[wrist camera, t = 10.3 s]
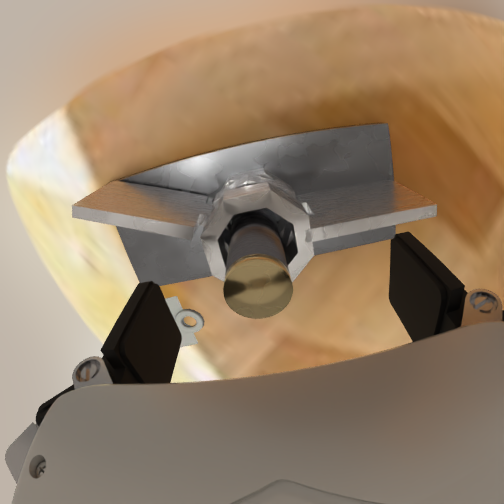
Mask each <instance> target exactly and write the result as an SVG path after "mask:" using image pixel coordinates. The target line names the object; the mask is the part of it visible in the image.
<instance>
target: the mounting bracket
mask: <svg viewBox="0 0 504 504" xmlns="http://www.w3.org/2000/svg"><path fill="white" fill-rule="evenodd" d="M165 300H166V302H167V304H168V307H169V309H170V311H171V313H172V315H173V317H174V320H175V322H176V324H177V326H178V328H179V330H180V332H181V335H182V342H181V345H180V347H183V346H188V345H193V344H198V342H197V340H196V338H195V335H194V333H193V332H197V331H199V330H200V329H201V328H202V327H203V326H204V319H203V317H202V316H201V314H200V313H198V312H196V311H195V310H191V309H182V307H181V305H180V302H179V300H178V298H177V296H175V297H171V298H167V299H165ZM186 316H190V317H193V318H195V320H196V322H197V324H196V325H194V326H190V325H187V324H186V323H185V322H184V320H183V319H184V318H185V317H186Z"/></svg>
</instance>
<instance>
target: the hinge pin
mask: <svg viewBox="0 0 504 504" xmlns="http://www.w3.org/2000/svg"><path fill="white" fill-rule="evenodd" d="M223 292H224V298H225V300H226V302H227V304H228V305H229V307H230V308H231V309H232V310H233V311H235V312H236V313H238V314H239V315H242V316H244V317H248V318H254V319H261V318H267V317H270V316H273V315H275V314H277V313H279V312H280V311H282V310H283V309H284V308H285V307H286V306H287V305H288V303H289V301H290V300H291V297H292V293H293V286H292V281H291V277H290V273H289V269H288V265H287V261H286V257H285V253H284V249H283V245H282V242H281V238H280V234H279V230H278V226H277V222H276V219H275V215H274V212H273V211H271V210H270V209H268V208H262V209H257V210H252V211H247V212H243V213H238V214H234V215H233V221H232V228H231V236H230V243H229V250H228V258H227V265H226V273H225V280H224V289H223Z"/></svg>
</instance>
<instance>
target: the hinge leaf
mask: <svg viewBox="0 0 504 504" xmlns="http://www.w3.org/2000/svg"><path fill="white" fill-rule="evenodd" d="M263 182H269V183H270V184H272V185H274V186H275V187H277V188H278V189H280V190H281V191H283V192H284V193H286V194H288V195H289V196H291V197H292V198H294V197H293V195H292V194H291V192H290V191H289V189H288V187H287V186H286V184H285V182H282V181H278V180H273V179H269V178H264V177H260V176H255V175H250V174H247V175H245V176H244V177H242V178H240V179H239V180H237V181H236V182H234V183H232V184H231V185H229V186H228V187H226V188H225V189H223V190H222V191H220V192H218V193H217V194H216V196H215V199H214V201H213V205H208V204H207V201H208V196H205V195H200V194H194V193H189V192H183V191H177V190H171V189H166V188H160V187H153V186H147V185H141V184H134V183H128V182H121V181H112V182H110V183H109V184H107V185H105V186H103V187H102V188H100V189H98V190H96V191H95V192H93V193H91V194H90V195H88V196H86V197H85V198H83V199H82V200H80V201H78V202H77V203H75V204H74V205H72V217H73V218H78V219H84V220H89V221H94V222H99V223H104V224H110V225H115V226H120V227H125V228H131V229H136V230H141V231H146V232H151V233H157V234H162V235H167V236H172V237H178V238H183V239H188V240H192V239H193V236H194V234H195V232H196V229H197V227H198V225H201V226H204V225H205V223H206V222H207V220H208V218H209V217H210V215H211V213H212V212H213V210H214V208H215V207H216V205H217V204H218V202H219V200H220V199H221V197H222V196H223V194H224V192H225V191H227V190H231V189H235V188H240V187H244V186H249V185H253V184H258V183H263ZM222 235H223V238H224V242H225V245H226V249H227V252H228V250H229V243H230V236H231V235H230V233H229V232H228V230H227V229H226V228H225V229H224V230H223V232H222ZM292 239H293V235H292V229H291V224H290V222H289V221H287V222H286V226H285V229H284V233H283V236H282V237H281V242H282V245H283V249H284V250H285V248H286V247H287V246H288V244H289V243H290V242H291V240H292Z"/></svg>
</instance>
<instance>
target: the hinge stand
mask: <svg viewBox="0 0 504 504" xmlns="http://www.w3.org/2000/svg"><path fill="white" fill-rule="evenodd" d="M247 174H250V175H255V176H260V177H264V178H269V179H273V180H278V181H282V182H285V184H286V186H287V187H288V189H289V191H290V192H291V194H292V195H293V197H294V198H292V197H291V196H289V195H288V194H286V193H284V192H283V191H281V190H280V189H278V188H277V187H275V186H274V185H272V184H270V183H269V182H263V183H258V184H253V185H249V186H244V187H240V188H235V189H231V190H227V191H225V192H224V194H223V196H222V197H221V199H220V200H219V202H218V204H217V205H216V207H215V208H214V210H213V212H212V213H211V215H210V217H209V218H208V220H207V222H206V223H205V225H204V226H201V225H198V227H197V229H196V232H195V234H194V236H193V239H192V240H188V239H183V238H178V237H172V236H167V235H162V234H157V233H151V232H146V231H141V230H136V229H131V228H125V227H120V226H116V227H117V230H118V232H119V235H120V237H121V240H122V242H123V245H124V247H125V250H126V252H127V254H128V257H129V259H130V261H131V264H132V266H133V268H134V271H135V273H136V275H137V277H138V280H139V282H140V283H142V282H148V281H153V282H154V283H155V284H158V285H159V286H162V285H167V284H172V283H178V282H183V281H188V280H194V279H199V278H204V277H209V276H214V277H216V278H218V279H220V280H222V281H223V282H224V280H225V273H226V265H227V258H228V252H227V249H226V245H225V242H224V238H223V235H222V232H223V230H224V229H225V228H226V229H227V230H228V232H229V233H230V235H231V228H232V221H233V215H234V214H238V213H243V212H247V211H252V210H257V209H262V208H268V209H270V210H271V211H273V212H274V215H275V219H276V222H277V226H278V230H279V234H280V238H281V237H282V236H283V233H284V229H285V226H286V222H287V221H289V222H290V224H291V229H292V235H293V239H292V240H291V242H290V243H289V244H288V246H287V247H286V248H285V250H284V253H285V257H286V261H287V265H288V269H289V273H290V277H291V281H292V282H293V281H294V280H295V278H296V277H297V276H298V275H299V273H300V272H301V271H302V270H303V269H304V267H305V266H306V265H307V264H308V262H309V261H310V260H311V259H312V257H313V256H314V255H318V254H323V253H328V252H332V251H337V250H342V249H347V248H351V247H356V246H360V245H365V244H370V243H374V242H379V241H383V240H388V239H392V238H394V236H395V225H397V224H401V223H406V222H411V221H416V220H421V219H425V218H430V217H435V216H437V204H435V203H433V202H432V201H430V200H428V199H427V198H425V197H423V196H421V195H420V194H418V193H416V192H414V191H412V190H411V189H409V188H407V187H405V186H403V185H401V184H400V183H398V182H396V181H394V176H393V163H392V153H391V143H390V135H389V127H388V123H371V124H361V125H351V126H343V127H334V128H327V129H320V130H313V131H307V132H300V133H294V134H289V135H283V136H278V137H272V138H267V139H262V140H257V141H253V142H248V143H243V144H239V145H235V146H230V147H226V148H222V149H218V150H214V151H210V152H206V153H202V154H199V155H195V156H191V157H188V158H184V159H181V160H177V161H174V162H170V163H167V164H164V165H160V166H157V167H154V168H151V169H148V170H145V171H142V172H139V173H136V174H133V175H130V176H127V177H124V178H121V179H119V180H116V181H121V182H128V183H134V184H141V185H147V186H153V187H160V188H166V189H171V190H177V191H183V192H189V193H194V194H200V195H205V196H208V201H207V204H208V205H213V201H214V199H215V196H216V194H217V193H218V192H220V191H222V190H223V189H225V188H226V187H228V186H229V185H231V184H232V183H234V182H236V181H237V180H239V179H240V178H242V177H244V176H245V175H247ZM108 184H109V183H108ZM106 185H107V184H106Z"/></svg>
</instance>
